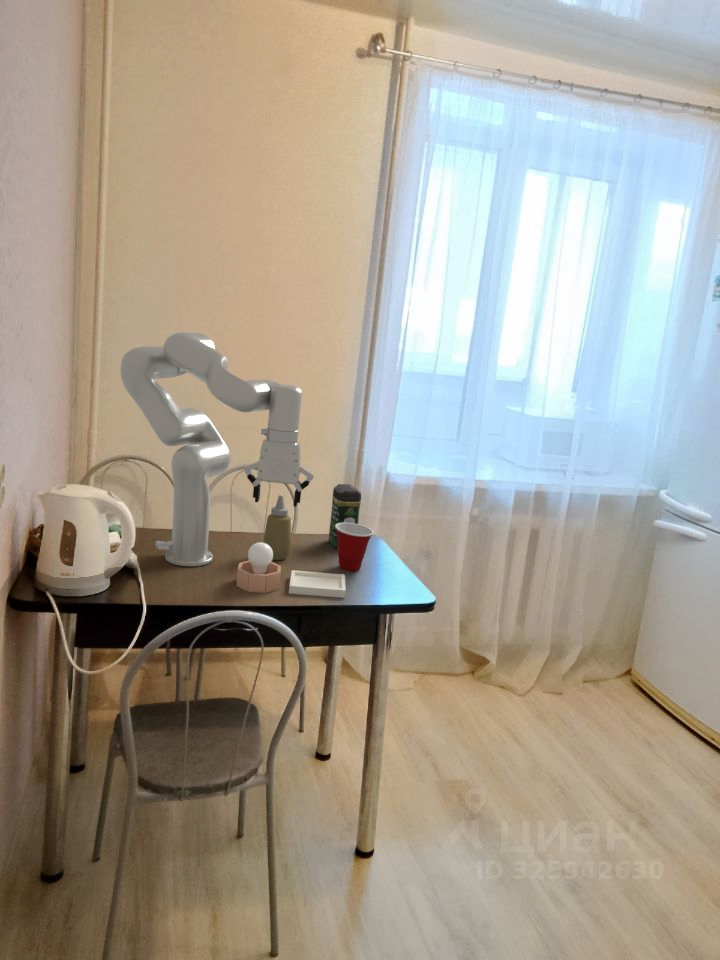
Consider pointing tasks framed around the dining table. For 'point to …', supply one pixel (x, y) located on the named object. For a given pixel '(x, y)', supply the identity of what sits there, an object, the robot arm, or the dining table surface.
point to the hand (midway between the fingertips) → (276, 503)
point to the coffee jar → (343, 508)
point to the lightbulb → (260, 557)
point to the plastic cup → (352, 545)
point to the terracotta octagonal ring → (258, 578)
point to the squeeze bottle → (278, 530)
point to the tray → (317, 584)
